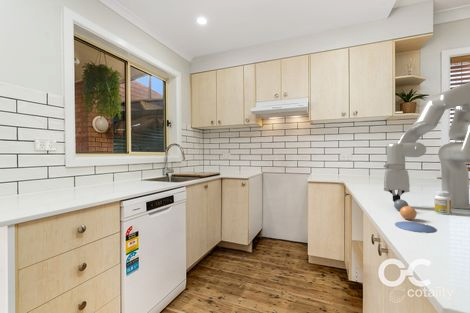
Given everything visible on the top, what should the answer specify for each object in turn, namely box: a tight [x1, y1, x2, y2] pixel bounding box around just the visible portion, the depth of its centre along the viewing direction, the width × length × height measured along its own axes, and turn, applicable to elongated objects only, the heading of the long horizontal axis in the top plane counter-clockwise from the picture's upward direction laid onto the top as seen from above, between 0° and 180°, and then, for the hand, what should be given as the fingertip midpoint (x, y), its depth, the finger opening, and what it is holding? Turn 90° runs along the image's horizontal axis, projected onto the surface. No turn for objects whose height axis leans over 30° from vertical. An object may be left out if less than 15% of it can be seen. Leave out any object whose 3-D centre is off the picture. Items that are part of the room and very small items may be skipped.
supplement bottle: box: [434, 190, 452, 215], centre depth 97 cm, size 5×5×10 cm
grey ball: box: [393, 199, 409, 212], centre depth 103 cm, size 6×6×6 cm
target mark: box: [394, 220, 437, 234], centre depth 82 cm, size 12×12×1 cm
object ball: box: [399, 205, 418, 221], centre depth 90 cm, size 6×6×6 cm
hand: (396, 202), depth 111 cm, fingers closed
